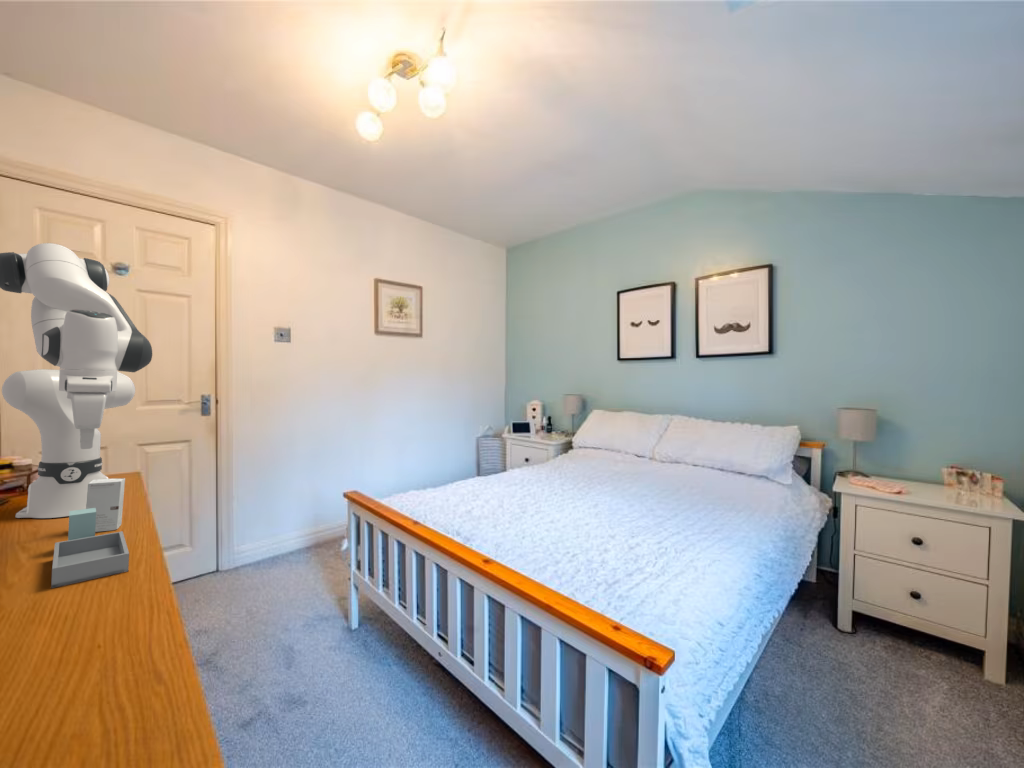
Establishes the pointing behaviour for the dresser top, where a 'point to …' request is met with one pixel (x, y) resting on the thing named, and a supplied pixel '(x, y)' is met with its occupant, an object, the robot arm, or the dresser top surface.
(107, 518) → the skincare box
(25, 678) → the dresser top surface
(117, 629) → the dresser top surface
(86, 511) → the teal block
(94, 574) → the grey tray
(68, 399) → the robot arm
